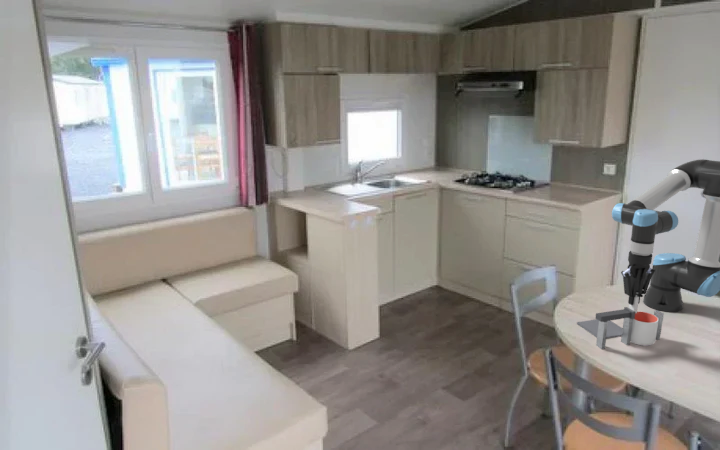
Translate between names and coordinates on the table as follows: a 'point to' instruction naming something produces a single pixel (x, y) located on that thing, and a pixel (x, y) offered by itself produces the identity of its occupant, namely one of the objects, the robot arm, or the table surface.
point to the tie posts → (624, 330)
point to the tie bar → (616, 315)
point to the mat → (592, 328)
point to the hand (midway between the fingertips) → (632, 311)
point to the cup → (644, 329)
